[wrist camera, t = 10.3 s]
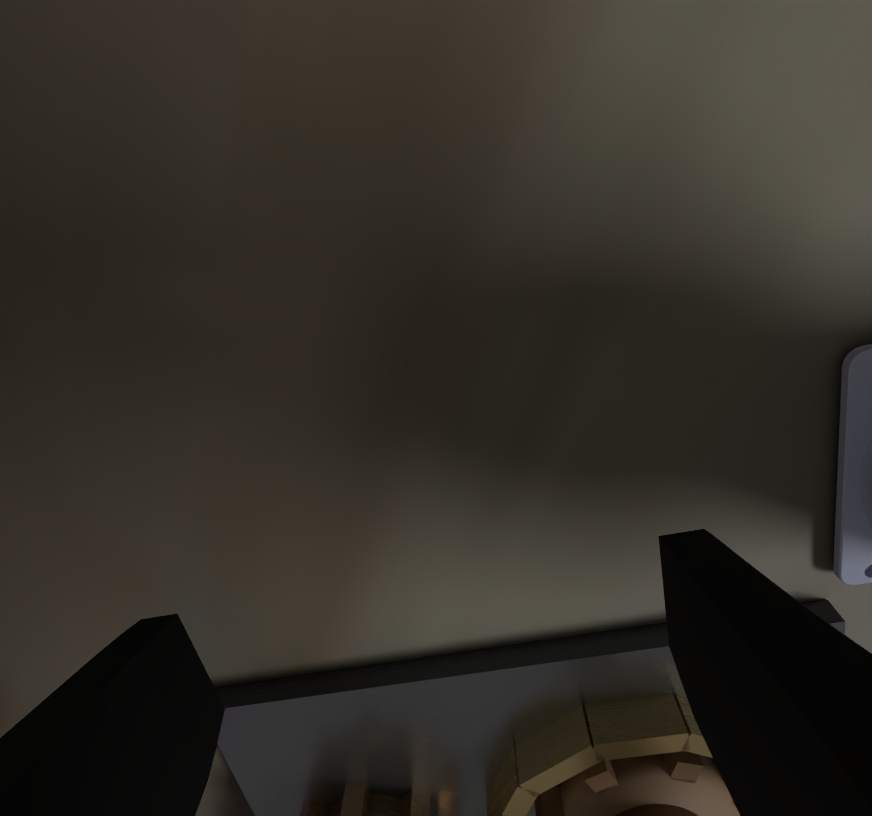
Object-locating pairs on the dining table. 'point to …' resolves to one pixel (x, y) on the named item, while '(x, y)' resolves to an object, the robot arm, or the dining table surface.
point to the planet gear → (642, 789)
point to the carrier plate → (459, 726)
